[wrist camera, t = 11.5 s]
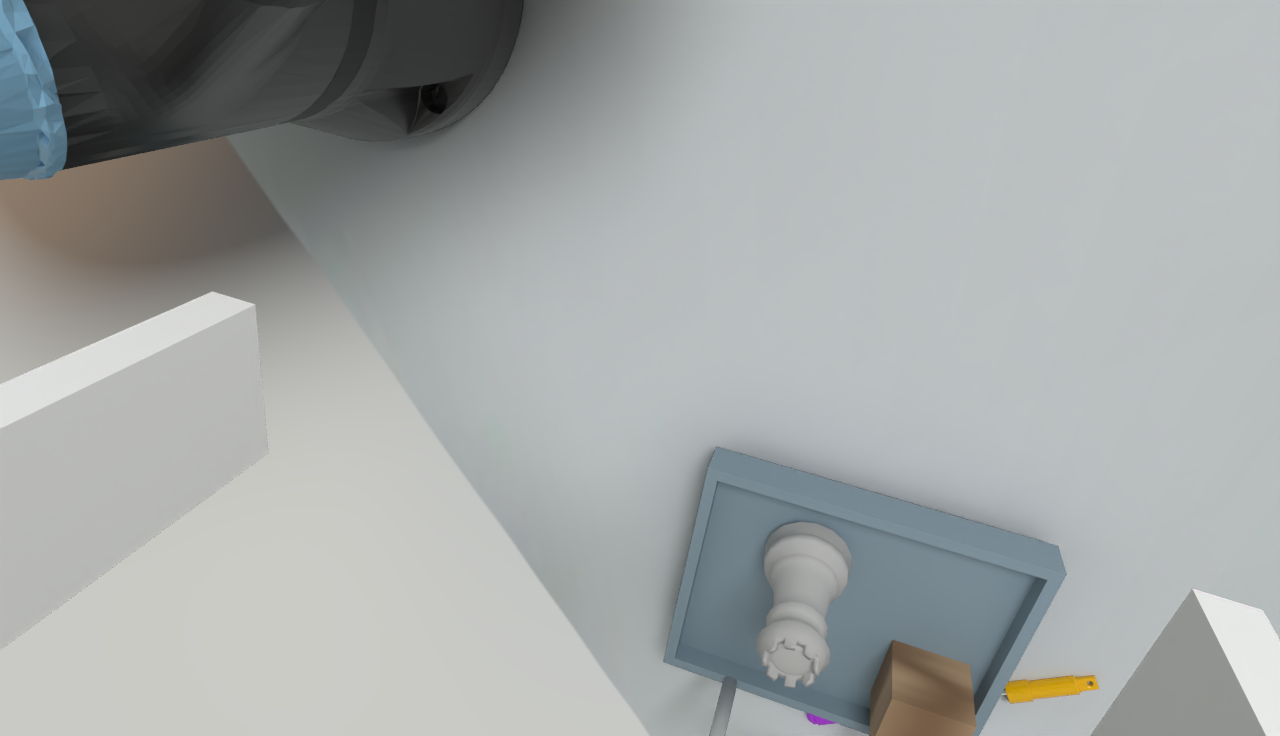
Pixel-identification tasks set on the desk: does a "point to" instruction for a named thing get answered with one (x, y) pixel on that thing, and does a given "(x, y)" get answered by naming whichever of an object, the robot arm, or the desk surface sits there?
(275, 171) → the desk surface
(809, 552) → the rook chess piece
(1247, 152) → the desk surface
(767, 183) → the desk surface
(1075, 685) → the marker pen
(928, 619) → the tray
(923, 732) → the walnut block
